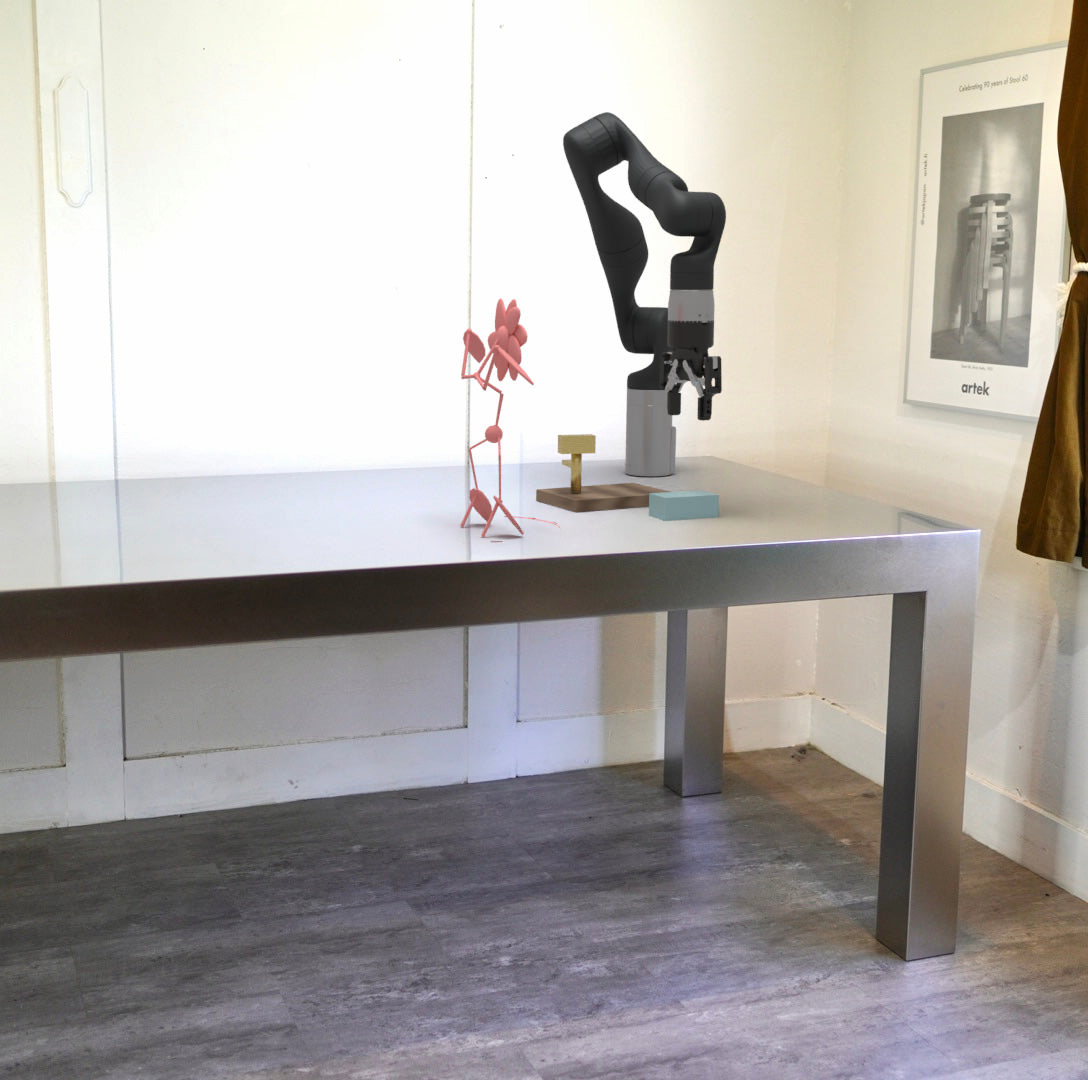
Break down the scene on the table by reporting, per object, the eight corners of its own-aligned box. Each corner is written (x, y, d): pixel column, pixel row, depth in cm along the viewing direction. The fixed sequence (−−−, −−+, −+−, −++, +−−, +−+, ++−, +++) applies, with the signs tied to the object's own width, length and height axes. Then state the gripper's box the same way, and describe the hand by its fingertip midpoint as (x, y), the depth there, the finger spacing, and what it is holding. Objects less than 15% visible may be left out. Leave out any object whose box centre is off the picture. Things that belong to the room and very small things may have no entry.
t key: (549, 487, 234) (550, 432, 233) (582, 486, 236) (583, 431, 234) (561, 493, 228) (561, 436, 226) (594, 492, 229) (595, 435, 227)
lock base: (632, 493, 244) (632, 482, 243) (675, 504, 232) (676, 492, 231) (536, 500, 234) (536, 489, 234) (576, 512, 222) (576, 500, 222)
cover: (701, 513, 224) (702, 490, 223) (718, 518, 219) (719, 494, 218) (648, 517, 220) (649, 493, 219) (664, 522, 215) (665, 497, 214)
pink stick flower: (497, 547, 191) (497, 299, 184) (438, 519, 214) (436, 297, 208) (594, 540, 197) (597, 299, 190) (526, 513, 220) (527, 298, 214)
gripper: (647, 317, 221) (646, 414, 225) (697, 320, 209) (695, 423, 212) (684, 316, 225) (682, 412, 228) (736, 319, 213) (733, 420, 216)
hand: (688, 417), depth 220 cm, fingers open, 8 cm apart
